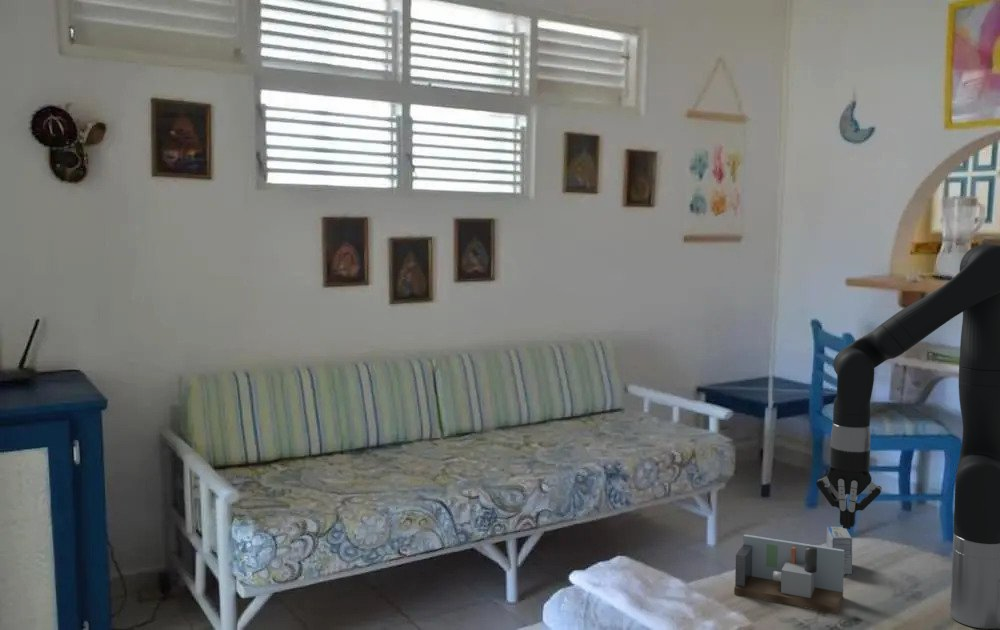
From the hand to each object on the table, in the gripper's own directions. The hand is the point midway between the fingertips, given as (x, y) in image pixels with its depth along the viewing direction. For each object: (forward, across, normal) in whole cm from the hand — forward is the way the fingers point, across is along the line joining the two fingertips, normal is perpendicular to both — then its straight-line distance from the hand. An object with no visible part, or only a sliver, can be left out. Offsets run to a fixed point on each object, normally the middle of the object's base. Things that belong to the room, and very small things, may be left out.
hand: (847, 527), depth 179 cm
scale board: (+16, +11, -4) cm, 20 cm away
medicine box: (+17, +4, -22) cm, 28 cm away
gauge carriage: (+16, +10, 0) cm, 19 cm away
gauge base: (+17, +11, 0) cm, 21 cm away
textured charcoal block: (+16, +21, 0) cm, 26 cm away
